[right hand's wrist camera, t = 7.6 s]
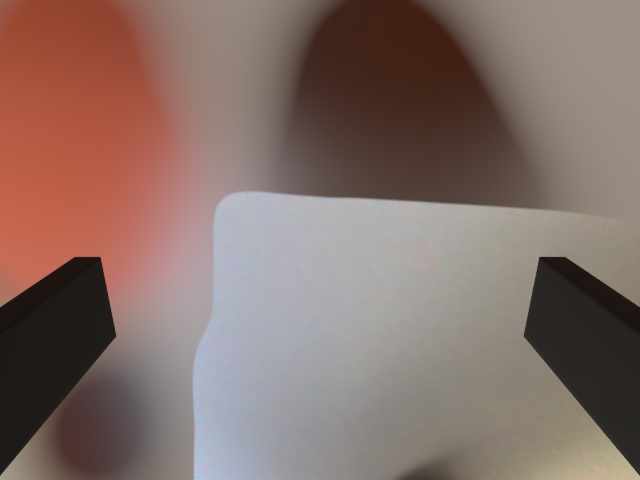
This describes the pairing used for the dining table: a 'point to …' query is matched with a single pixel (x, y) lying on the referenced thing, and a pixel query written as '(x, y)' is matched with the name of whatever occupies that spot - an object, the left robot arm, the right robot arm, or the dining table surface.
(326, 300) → the dining table surface
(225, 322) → the dining table surface
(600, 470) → the dining table surface
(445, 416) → the dining table surface
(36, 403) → the right robot arm
